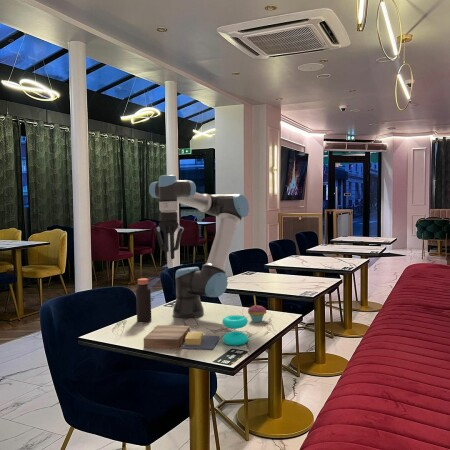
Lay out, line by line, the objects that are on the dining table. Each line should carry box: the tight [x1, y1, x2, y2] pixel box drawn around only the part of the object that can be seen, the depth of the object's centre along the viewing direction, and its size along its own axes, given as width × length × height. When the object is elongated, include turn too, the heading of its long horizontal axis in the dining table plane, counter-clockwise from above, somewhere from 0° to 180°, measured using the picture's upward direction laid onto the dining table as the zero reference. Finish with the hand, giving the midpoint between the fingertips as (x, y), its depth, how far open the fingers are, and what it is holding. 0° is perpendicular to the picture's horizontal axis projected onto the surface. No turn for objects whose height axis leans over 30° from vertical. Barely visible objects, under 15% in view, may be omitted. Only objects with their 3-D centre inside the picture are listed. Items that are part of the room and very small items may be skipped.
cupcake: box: [247, 295, 267, 323], centre depth 214 cm, size 9×8×12 cm
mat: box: [180, 334, 221, 351], centre depth 184 cm, size 16×12×1 cm
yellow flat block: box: [185, 331, 204, 345], centre depth 184 cm, size 9×6×2 cm, turn 176°
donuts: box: [222, 314, 249, 347], centre depth 183 cm, size 10×10×10 cm
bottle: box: [135, 277, 152, 323], centre depth 217 cm, size 7×7×20 cm
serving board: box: [143, 324, 191, 351], centre depth 186 cm, size 18×14×4 cm
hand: (170, 266), depth 197 cm, fingers closed
